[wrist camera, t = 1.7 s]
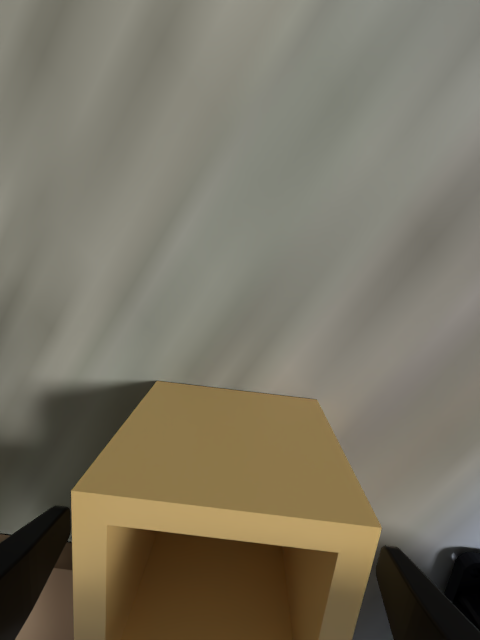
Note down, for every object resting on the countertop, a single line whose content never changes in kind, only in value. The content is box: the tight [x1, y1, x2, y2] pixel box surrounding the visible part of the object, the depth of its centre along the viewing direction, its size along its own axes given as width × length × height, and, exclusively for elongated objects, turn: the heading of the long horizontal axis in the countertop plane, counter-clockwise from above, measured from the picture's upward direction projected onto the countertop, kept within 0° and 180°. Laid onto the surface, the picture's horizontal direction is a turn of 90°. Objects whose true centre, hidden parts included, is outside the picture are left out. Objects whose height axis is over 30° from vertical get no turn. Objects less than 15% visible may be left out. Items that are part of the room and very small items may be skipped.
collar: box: [71, 381, 382, 640], centre depth 8 cm, size 6×6×5 cm
